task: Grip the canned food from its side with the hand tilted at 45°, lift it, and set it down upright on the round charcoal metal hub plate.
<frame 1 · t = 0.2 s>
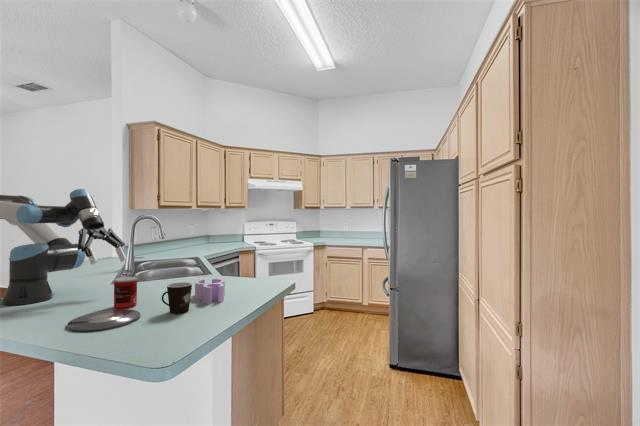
hand: (109, 261, 133), 16 cm above the worktop, tool tilted 35°, fingers open, 13 cm apart
coffee mug: (175, 313, 114), on the worktop
canned food: (125, 307, 121), on the worktop
hub plate: (105, 321, 104), on the worktop
clip: (210, 298, 135), on the worktop
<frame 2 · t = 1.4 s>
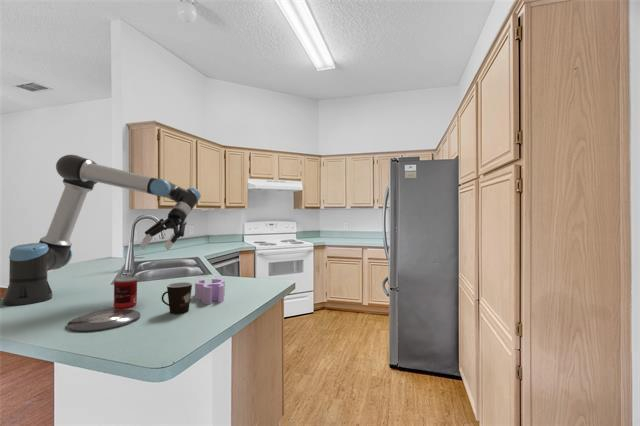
hand: (153, 247, 134), 22 cm above the worktop, tool tilted 45°, fingers open, 13 cm apart
nothing on the worktop moved.
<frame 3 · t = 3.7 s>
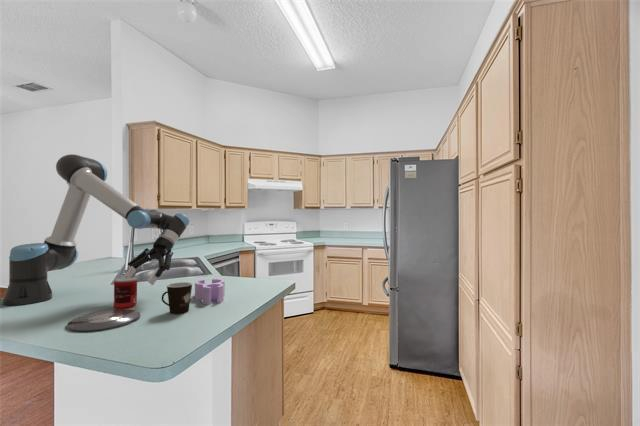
hand: (137, 282, 125), 9 cm above the worktop, tool tilted 45°, fingers open, 13 cm apart
nothing on the worktop moved.
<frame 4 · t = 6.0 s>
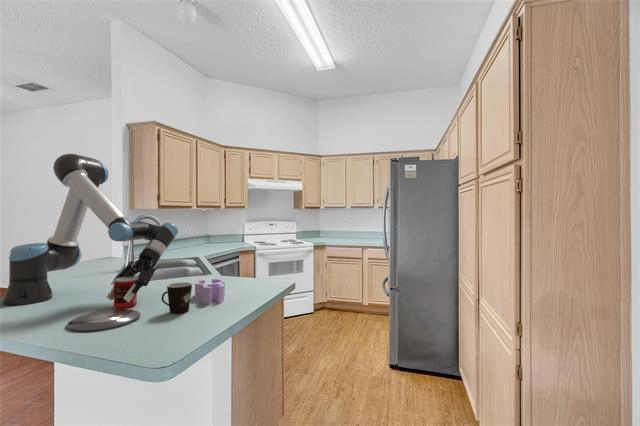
hand: (117, 299, 118), 4 cm above the worktop, tool tilted 45°, fingers closed on canned food, 8 cm apart
canned food: (125, 307, 121), on the worktop, touching gripper
everything else where it was.
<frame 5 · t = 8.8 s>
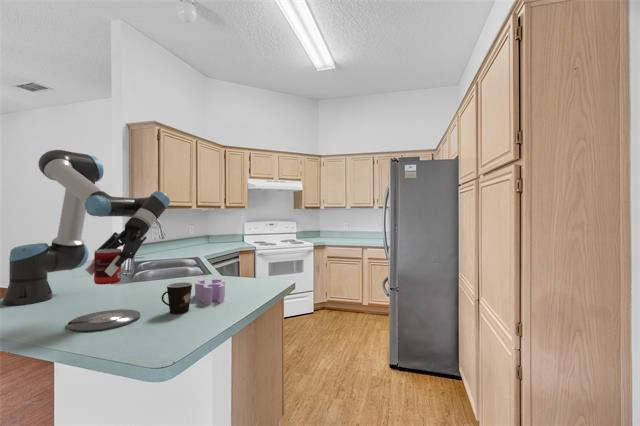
hand: (98, 273, 102), 17 cm above the worktop, tool tilted 45°, fingers closed on canned food, 8 cm apart
canned food: (107, 282, 105), point 13 cm above the worktop, touching gripper
everything else where it was.
when the fingers open (6 cm above the worktop, at t = 12.1 s): canned food drops 1 cm, resting on hub plate.
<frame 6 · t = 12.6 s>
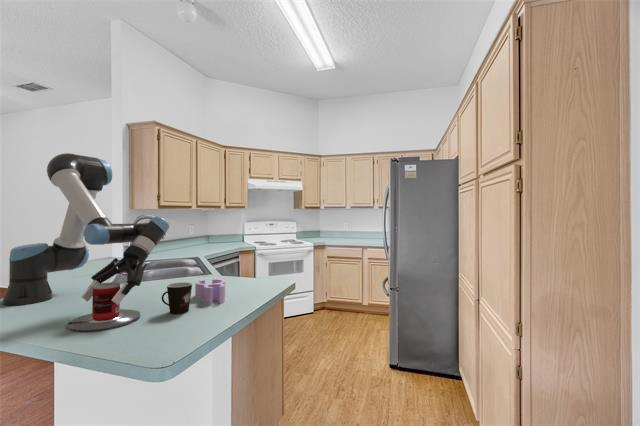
hand: (99, 300, 102), 7 cm above the worktop, tool tilted 45°, fingers open, 13 cm apart
canned food: (106, 317, 104), point 1 cm above the worktop, touching hub plate
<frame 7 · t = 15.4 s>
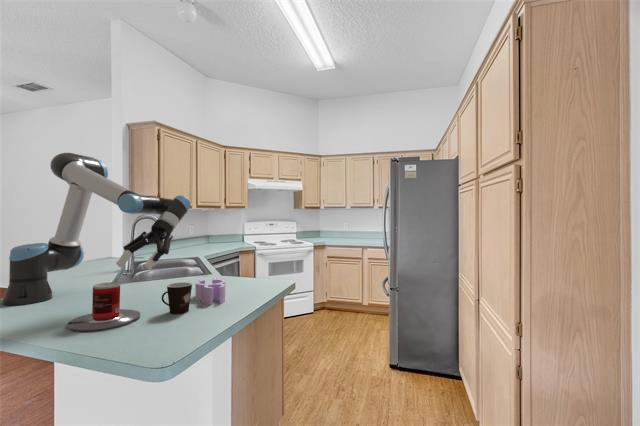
hand: (132, 266, 114), 17 cm above the worktop, tool tilted 45°, fingers open, 13 cm apart
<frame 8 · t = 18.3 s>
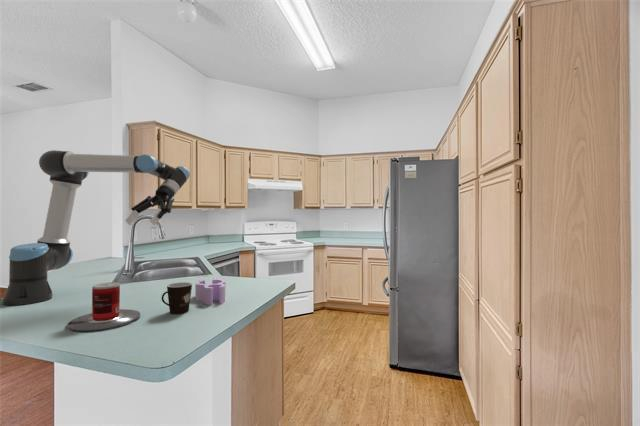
hand: (139, 222, 132), 33 cm above the worktop, tool tilted 45°, fingers open, 13 cm apart
at the end: canned food 0.1 cm from the hub plate (horizontally); canned food tilted 0°; canned food point 1.0 cm above the worktop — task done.
